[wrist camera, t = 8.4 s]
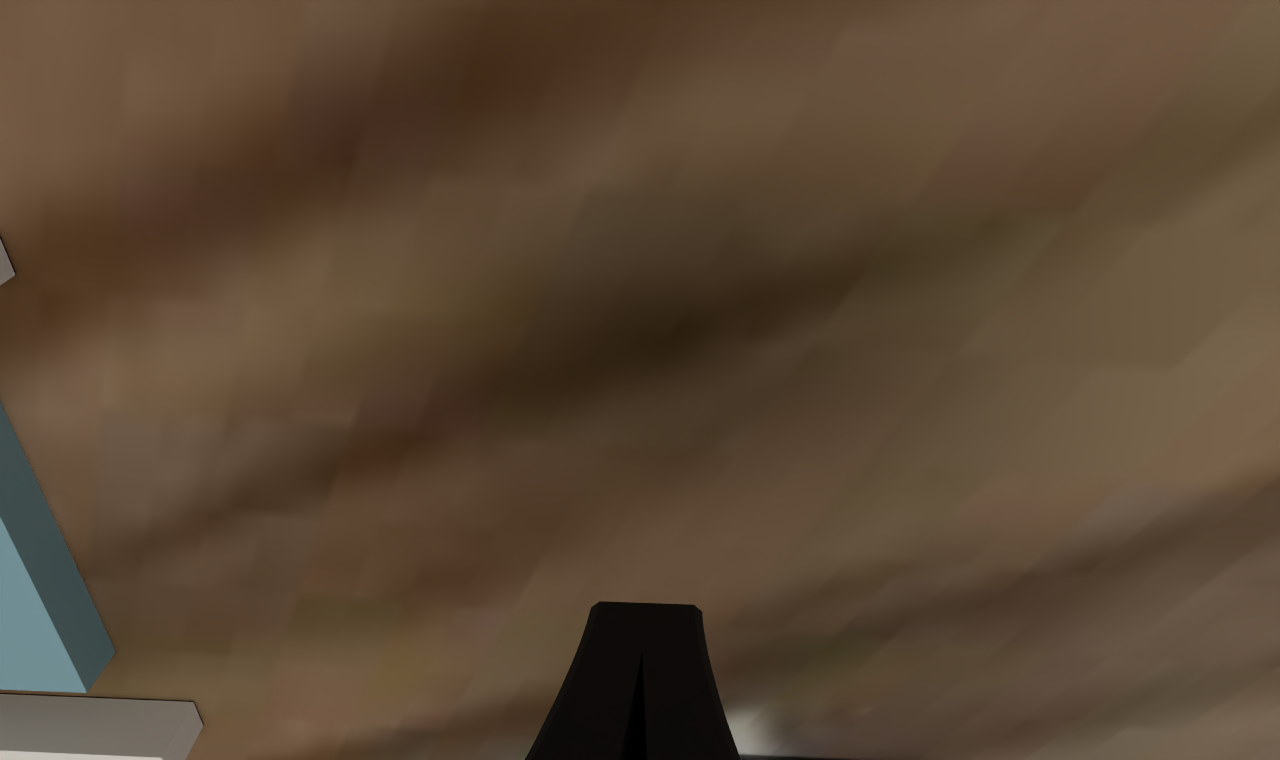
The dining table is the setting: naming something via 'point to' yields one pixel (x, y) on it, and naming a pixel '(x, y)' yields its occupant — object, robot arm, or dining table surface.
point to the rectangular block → (41, 590)
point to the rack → (93, 715)
